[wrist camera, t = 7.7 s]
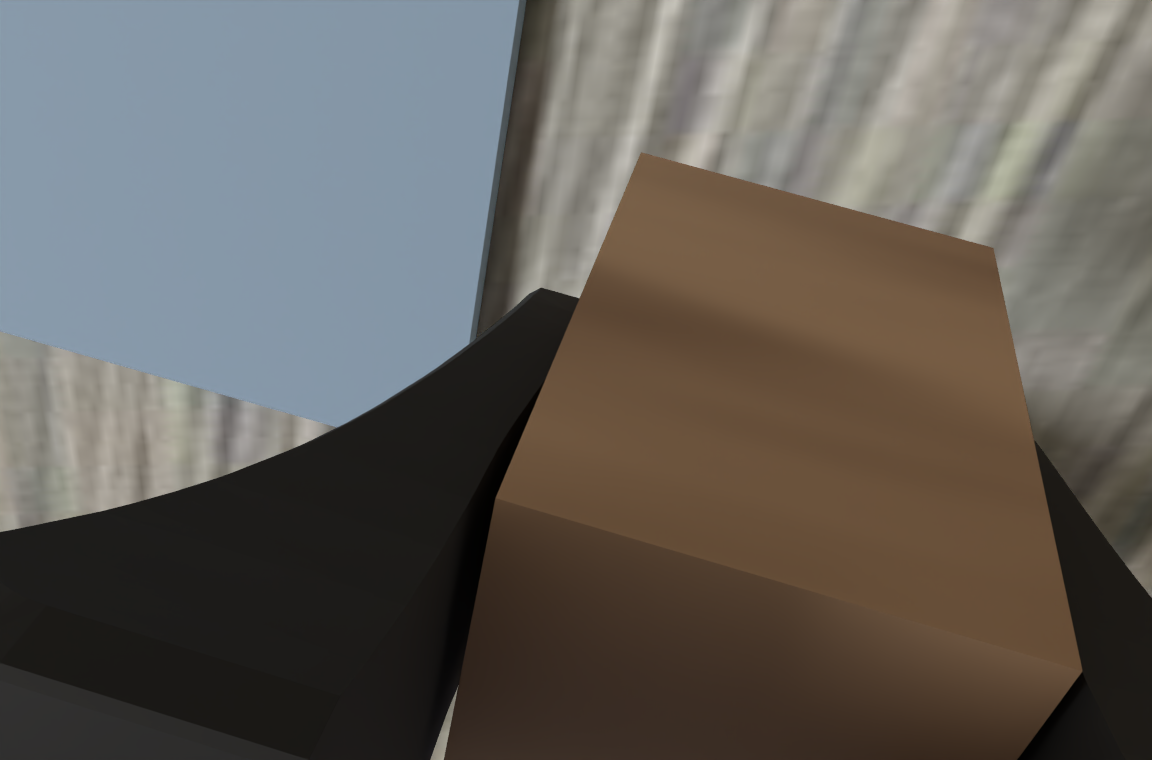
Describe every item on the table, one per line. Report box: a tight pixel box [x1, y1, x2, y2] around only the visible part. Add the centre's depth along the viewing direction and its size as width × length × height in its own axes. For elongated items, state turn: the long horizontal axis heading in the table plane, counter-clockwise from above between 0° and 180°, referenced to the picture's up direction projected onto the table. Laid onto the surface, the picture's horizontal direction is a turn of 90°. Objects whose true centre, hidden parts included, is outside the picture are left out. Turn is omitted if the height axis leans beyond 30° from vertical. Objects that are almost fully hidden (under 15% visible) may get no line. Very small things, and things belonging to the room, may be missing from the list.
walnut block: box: [444, 153, 1082, 760], centre depth 11 cm, size 4×4×6 cm
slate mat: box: [0, 0, 527, 427], centre depth 20 cm, size 16×12×1 cm
